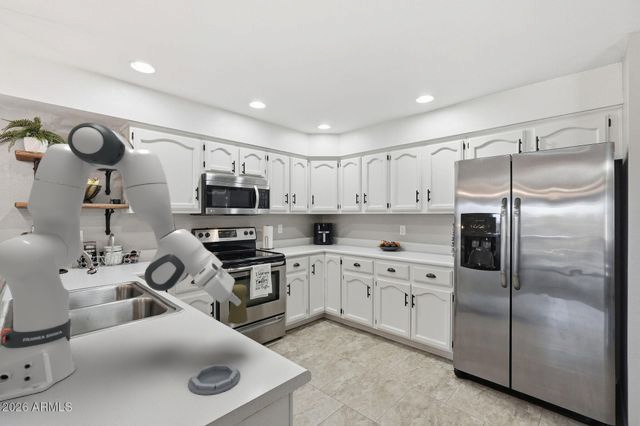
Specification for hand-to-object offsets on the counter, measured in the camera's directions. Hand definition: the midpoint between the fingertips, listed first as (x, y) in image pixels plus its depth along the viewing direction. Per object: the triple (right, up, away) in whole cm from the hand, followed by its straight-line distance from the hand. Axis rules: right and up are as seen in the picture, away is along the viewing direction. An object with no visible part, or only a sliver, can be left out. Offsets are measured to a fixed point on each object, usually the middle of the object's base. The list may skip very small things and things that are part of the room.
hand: (240, 301), depth 93 cm
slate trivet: (-3, -17, -14) cm, 22 cm away
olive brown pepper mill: (-1, -6, 0) cm, 6 cm away
